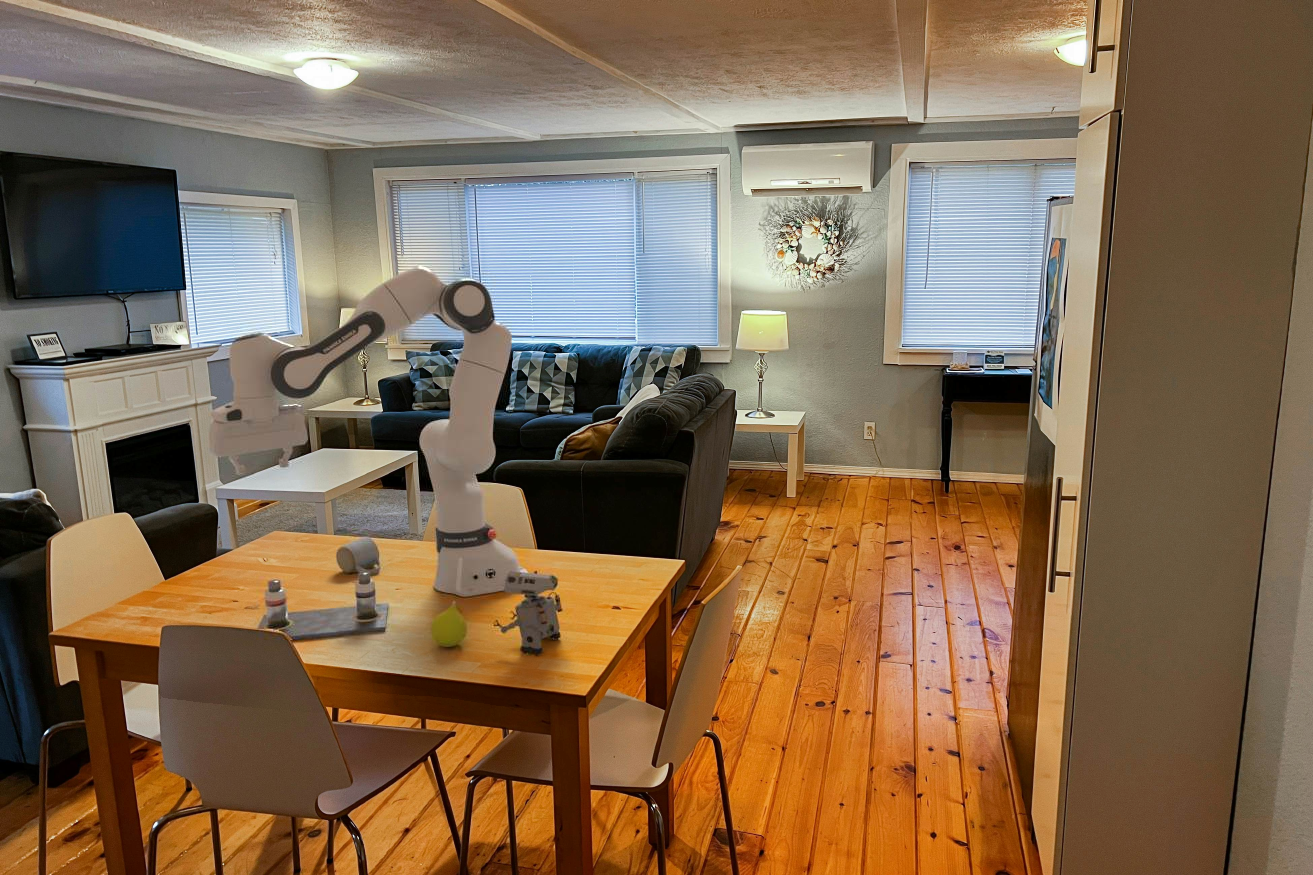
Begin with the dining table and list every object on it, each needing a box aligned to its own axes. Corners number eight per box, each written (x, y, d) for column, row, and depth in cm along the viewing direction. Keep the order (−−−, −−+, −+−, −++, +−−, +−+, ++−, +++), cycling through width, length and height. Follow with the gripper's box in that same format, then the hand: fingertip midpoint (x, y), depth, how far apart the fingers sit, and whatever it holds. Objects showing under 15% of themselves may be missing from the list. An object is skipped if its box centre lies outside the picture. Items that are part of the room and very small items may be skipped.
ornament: (471, 638, 190) (468, 591, 188) (463, 652, 183) (460, 604, 181) (436, 638, 190) (433, 592, 188) (427, 652, 183) (424, 604, 181)
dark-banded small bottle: (377, 611, 202) (374, 569, 200) (376, 618, 198) (373, 575, 196) (358, 613, 201) (354, 571, 199) (356, 620, 197) (353, 577, 195)
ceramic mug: (334, 571, 232) (332, 542, 230) (361, 562, 239) (359, 533, 237) (363, 579, 226) (361, 549, 225) (389, 570, 233) (387, 540, 231)
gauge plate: (388, 607, 207) (388, 602, 207) (385, 631, 194) (384, 625, 194) (264, 619, 202) (263, 614, 201) (252, 644, 188) (251, 639, 188)
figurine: (517, 632, 192) (514, 563, 189) (567, 639, 188) (565, 569, 185) (494, 649, 184) (491, 577, 181) (546, 657, 180) (543, 584, 177)
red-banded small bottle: (290, 619, 198) (286, 577, 196) (287, 626, 194) (282, 583, 192) (269, 621, 197) (265, 578, 195) (266, 628, 193) (261, 585, 191)
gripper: (297, 401, 211) (303, 460, 214) (202, 412, 197) (210, 476, 200) (309, 404, 207) (314, 464, 209) (213, 416, 193) (220, 480, 195)
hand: (262, 470), depth 204 cm, fingers open, 8 cm apart
